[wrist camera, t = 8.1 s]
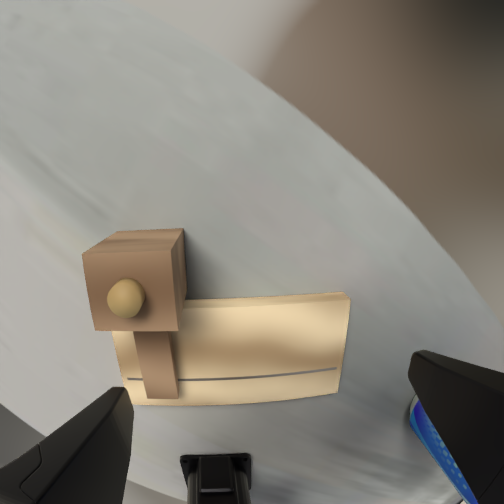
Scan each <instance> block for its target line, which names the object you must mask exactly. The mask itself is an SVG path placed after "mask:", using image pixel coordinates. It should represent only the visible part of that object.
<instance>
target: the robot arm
mask: <svg viewBox="0 0 504 504" xmlns="http://www.w3.org/2000/svg"><path fill="white" fill-rule="evenodd" d="M408 378H409V380H410V382H411V384H412V386H413V388H414V391H415V393H416V395H417V397H418V399H419V401H420V403H421V405H422V407H423V409H424V411H425V413H426V415H427V416H428V418H429V420H430V421H431V423H432V424H433V426H434V428H435V429H436V431H437V433H438V434H439V436H440V438H441V439H442V441H443V443H444V444H445V446H446V448H447V449H448V451H449V453H450V454H451V456H452V458H453V459H454V461H455V463H456V465H457V466H458V468H459V470H460V472H461V473H462V475H463V477H464V479H465V480H466V482H467V484H468V486H469V488H470V489H471V491H472V493H473V495H474V497H475V499H476V500H477V503H478V504H504V373H502V372H498V371H495V370H491V369H488V368H484V367H481V366H477V365H474V364H470V363H467V362H463V361H460V360H457V359H453V358H450V357H447V356H443V355H440V354H437V353H434V352H430V351H427V350H420V351H417V352H414V353H413V355H412V358H411V362H410V366H409V371H408ZM133 419H134V410H133V406H132V403H131V400H130V397H129V394H128V391H127V389H126V388H125V387H112V388H111V389H109V390H108V391H107V392H105V393H104V394H103V395H101V396H100V397H99V398H98V399H96V400H95V401H94V402H92V403H91V404H90V405H88V406H87V407H86V408H85V409H83V410H82V411H81V412H79V413H78V414H77V415H75V416H74V417H73V418H71V419H70V420H69V421H67V422H66V423H65V424H63V425H62V426H61V427H59V428H58V429H57V430H55V431H54V432H53V433H51V434H50V435H49V436H47V437H46V438H45V439H43V440H42V441H41V442H39V444H37V445H35V446H34V447H33V448H31V449H30V450H29V451H27V452H26V453H24V454H23V455H21V456H20V457H18V458H17V459H15V460H13V461H12V462H10V463H9V464H7V465H5V466H4V467H2V468H0V504H122V500H123V495H124V489H125V483H126V478H127V473H128V467H129V462H130V456H131V444H132V431H133ZM180 463H181V467H182V471H183V474H184V478H185V481H186V485H187V488H188V498H187V504H251V500H250V494H249V490H250V489H251V459H250V455H249V454H229V455H184V456H181V457H180Z"/></svg>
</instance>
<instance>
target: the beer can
mask: <svg viewBox="0 0 504 504" xmlns="http://www.w3.org/2000/svg"><path fill="white" fill-rule="evenodd" d="M409 422H410V426H411V428H412V430H413V431H414V432H415V434H416V435H417V436H418V438H419V439H420V440H421V442H422V443H423V444H424V446H425V447H426V449H427V450H428V451H429V453H430V454H431V455H432V457H433V458H434V459H435V461H436V462H437V463H438V465H439V466H440V468H441V469H442V470H443V472H444V473H445V474H446V476H447V477H448V479H449V480H450V481H451V483H452V484H453V486H454V487H455V488H456V490H457V491H458V493H459V494H460V495H461V497H462V498H463V500H464V501H465V502H466V503H467V504H478V503H477V500H476V499H475V497H474V495H473V493H472V491H471V489H470V488H469V486H468V484H467V482H466V480H465V479H464V477H463V475H462V473H461V472H460V470H459V468H458V466H457V465H456V463H455V461H454V459H453V458H452V456H451V454H450V453H449V451H448V449H447V448H446V446H445V444H444V443H443V441H442V439H441V438H440V436H439V434H438V433H437V431H436V429H435V428H434V426H433V424H432V423H431V421H430V420H429V418H428V416H427V415H426V413H425V411H424V409H423V407H422V405H421V403H420V401H419V399H418V397H417V395H415V397H414V398H413V401H412V403H411V407H410V420H409Z"/></svg>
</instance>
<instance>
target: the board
mask: <svg viewBox="0 0 504 504" xmlns="http://www.w3.org/2000/svg"><path fill="white" fill-rule="evenodd" d="M350 302H351V299H350V298H349V297H348V296H347V295H345V294H344V293H343V292H333V293H319V294H304V295H288V296H270V297H250V298H226V299H196V300H185V301H184V306H183V310H182V315H181V320H180V325H179V330H178V331H171V337H172V344H173V352H174V358H175V365H176V372H177V378H178V384H179V390H180V391H179V399H147V395H146V391H145V387H144V383H143V378H142V374H141V369H140V365H139V360H138V355H137V350H136V345H135V340H134V335H133V331H112V336H113V341H114V345H115V350H116V354H117V359H118V363H119V367H120V371H121V375H122V379H123V383H124V387H125V388H126V389H127V391H128V394H129V397H130V400H131V403H132V404H138V405H167V406H199V405H228V404H245V403H259V402H270V401H280V400H289V399H297V398H305V397H312V396H319V395H326V394H332V393H337V391H338V386H339V380H340V374H341V368H342V362H343V355H344V349H345V342H346V334H347V327H348V319H349V310H350Z"/></svg>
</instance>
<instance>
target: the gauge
mask: <svg viewBox="0 0 504 504" xmlns="http://www.w3.org/2000/svg"><path fill="white" fill-rule="evenodd" d="M82 259H83V266H84V273H85V279H86V286H87V291H88V297H89V303H90V308H91V313H92V318H93V322H94V327H95V331H133V335H134V340H135V345H136V350H137V355H138V360H139V365H140V369H141V374H142V378H143V383H144V387H145V391H146V395H147V399H179V391H180V390H179V384H178V378H177V372H176V365H175V358H174V352H173V344H172V337H171V331H178V330H179V325H180V320H181V315H182V310H183V306H184V301H185V296H186V292H187V280H186V266H185V250H184V232H183V228H179V229H157V230H136V231H117V232H116V233H114V234H112V235H111V236H109V237H108V238H106V239H104V240H103V241H101V242H100V243H98V244H97V245H95V246H93V247H92V248H90V249H89V250H87V251H86V252H84V253H83V254H82Z"/></svg>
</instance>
